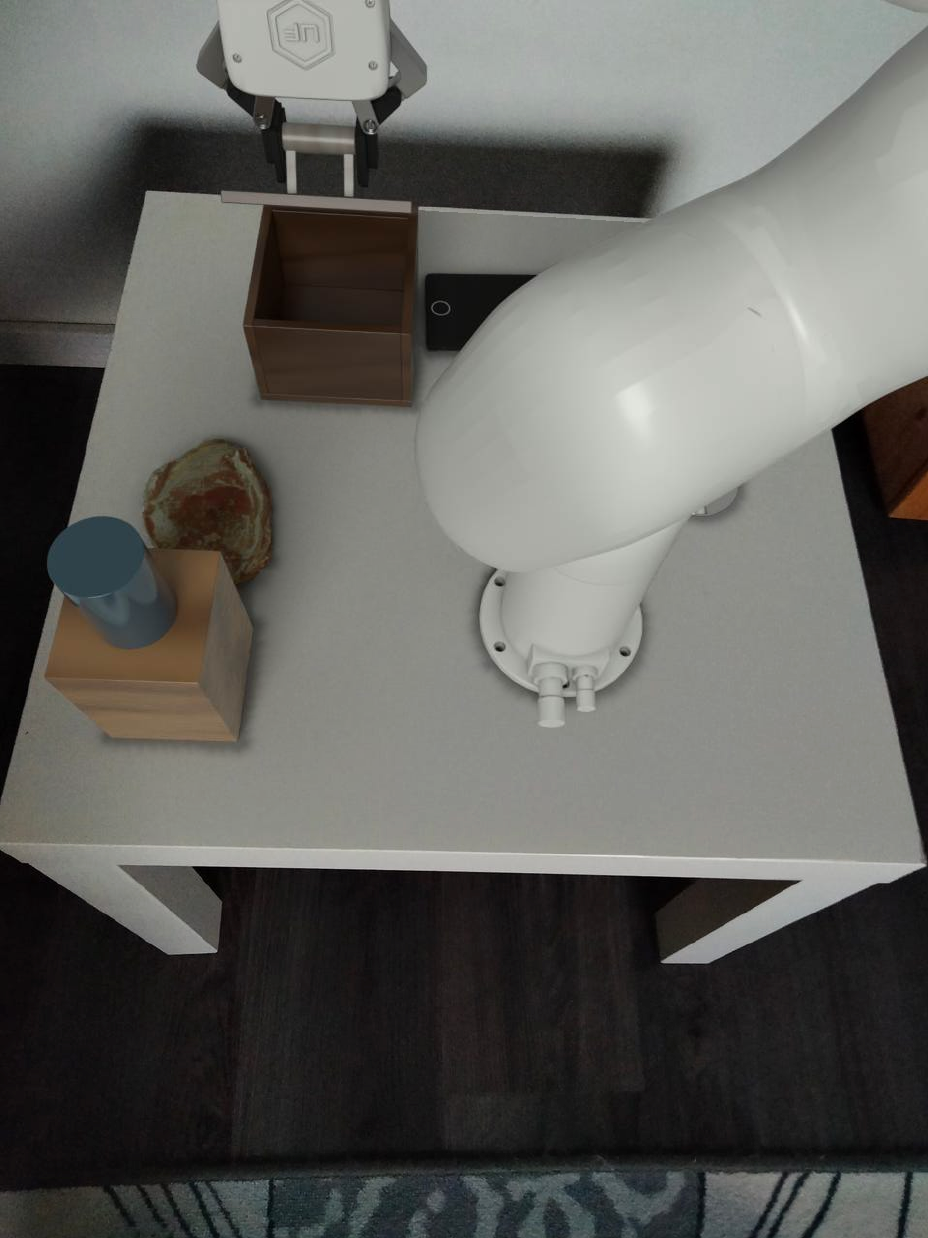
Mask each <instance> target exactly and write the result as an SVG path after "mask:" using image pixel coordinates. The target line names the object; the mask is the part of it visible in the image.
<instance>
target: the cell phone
mask: <svg viewBox="0 0 928 1238" xmlns="http://www.w3.org/2000/svg"><path fill="white" fill-rule="evenodd" d="M537 275H538V274H522V273H521V274H520V273H519V274H518V273H517V274H516V273H511V274H510V273H507V274H506V273H447V272H446V273H444V272H443V273H442V272H438V273H437V272H436V273H435V272H433V273H427V274H426V275H425V277H424V312H425V313H424V316H425V317H424V318H425V346H426V350H428V351H430V352H438V351H439V352H440V351H441V352H460V351H461V349H462V348H463V347H464V346H465V344H466V343H467V342H468V341H469V339H470V338H471V337H472V336H473V334H474V333H475V332H476V331H477V329H478V328H479V327H480V325H481V324H482V323H483V322H484V321H485V320H486V318H487V317H488V316H489V315H490V314H491V312H492V311H493V310H494V309H495V308H496V307H497V306H498V305H499V304H500V303H501V302H503V301H504V300H505V299H506V298H507V297H508V296H510V295H511V294H512V293H514V292H515V291H516V290H518V289H519V288H520V287H521V286H523V285H524V284H526V283H527V282H529V281H530V280H531V279H533V278H534V277H536V276H537Z"/></svg>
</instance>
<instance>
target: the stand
mask: <svg viewBox="0 0 928 1238" xmlns="http://www.w3.org/2000/svg"><path fill="white" fill-rule="evenodd" d="M147 548H148V550H149V551H150V553H151V555H152V557H153V558H154V560H155V562H156V563H157V565H158V567H159V569H160V570H161V572H162V574H163V575H164V577H165V579H166V580H167V582H168V584H169V586H170V587H171V589H172V591H173V593H174V594H175V597H176V601H177V614H176V618H175V620H174V623H173V625H172V626H171V628H170V629H169V631H168V632H167V633H166V634H165V635H164V636H163V637H162V638H160V639H159V640H158V641H156V642H155V643H153V644H151V645H148V646H146V647H142V648H138V649H121V648H117V647H114V646H111V645H109V644H108V643H106V642H105V641H103V640H102V639H101V638H100V637H99V635H98V634H97V633H96V632H95V631H94V630H93V628H92V627H91V626H90V625H89V624H88V623H87V621H86V620H85V619H84V618H83V617H82V616H81V614H80V613H79V612H78V611H77V610H76V608H75V607H74V606H73V605H72V604H71V603H70V601H69V600H68V599H67V598H66V597H65V596H64V595H63V599H62V604H61V607H60V611H59V616H58V619H57V624H56V627H55V632H54V635H53V639H52V644H51V648H50V652H49V655H48V660H47V664H46V669H45V672H44V680H46V681H47V682H48V683H49V684H50V685H51V686H52V687H53V688H54V689H56V690H57V691H58V692H59V693H60V694H61V695H62V696H64V697H65V698H66V699H67V700H68V701H69V702H70V703H72V704H73V706H75V707H76V708H78V710H80V712H82V713H83V714H84V715H85V716H86V717H87V718H88V719H90V721H92V722H93V723H94V724H95V725H96V726H97V727H98V728H100V729H101V730H102V731H103V732H105V733H106V734H107V735H108V736H109V737H110V738H114V739H115V738H116V739H142V740H143V739H145V740H168V741H169V740H173V741H201V742H202V741H203V742H205V741H206V742H228V743H229V742H231V743H232V742H235V743H238V742H239V736H240V729H241V722H242V714H243V708H244V707H243V706H244V701H245V700H244V699H245V692H246V685H247V677H248V670H249V663H250V656H251V651H252V641H253V634H254V627H253V624H252V622H251V619H250V618H249V617H250V616H249V615H248V613H247V610H246V608H245V606H244V603H243V601H242V599H241V596H240V594H239V592H238V589H237V587H236V585H234V582H233V580H232V578H231V575H230V573H229V571H228V568H227V566H226V564H225V561H224V559H223V557H222V554H221V552H220V551H207V550H183V549H159V548H155V547H154V548H153V547H147Z"/></svg>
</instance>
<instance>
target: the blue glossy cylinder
mask: <svg viewBox="0 0 928 1238" xmlns="http://www.w3.org/2000/svg"><path fill="white" fill-rule="evenodd" d="M148 548H149V547H148V546H147V545H146V543H145V541H144V540H143V538H142V536H141V534H140V533H139V531H138V530H137V529H136V528H135V527H134V526H133V525H132V524H130V523H129V522H127V521H126V520H124V519H121V518H118V517H114V516H107V515H96V516H91V517H87V518H83V519H80V520H78V521H76V522H74V523H72V524H71V525H68V527H66V528H65V529H64V530H62V531H61V532H60V533H59V534H58V536H57V537H56V538H55V539H54V541H53V543H52V544H51V546H50V548H49V550H48V554H47V560H46V566H47V571H48V576H49V578H50V580H51V581H52V582H53V584H54V585H55V587H56V588H57V589H58V590H59V591H60V592H61V593H62V595H63V597H64V596H65V597H66V598H67V599H68V600H69V601H70V603H71V604H72V605H73V606H74V607H75V608H76V610H77V611H78V612H79V613H80V614H81V616H82V617H83V618H84V619H85V620H86V621H87V623H88V624H89V625H90V626H91V627H92V628H93V630H94V631H95V632H96V633H97V634H98V635H99V637H100V638H101V639H102V640H103V641H105V642H106V643H108V644H109V645H111V646H114V647H117V648H121V649H138V648H142V647H146V646H148V645H151V644H153V643H155V642H156V641H158V640H159V639H160V638H162V637H163V636H164V635H165V634H166V633H167V632H168V631H169V629H170V628H171V626H172V625H173V623H174V620H175V618H176V614H177V601H176V597H175V594H174V593H173V591H172V589H171V587H170V586H169V584H168V582H167V580H166V579H165V577H164V575H163V574H162V572H161V570H160V569H159V567H158V565H157V563H156V562H155V560H154V558H153V557H152V555H151V553H150V551H149V550H148Z"/></svg>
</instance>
